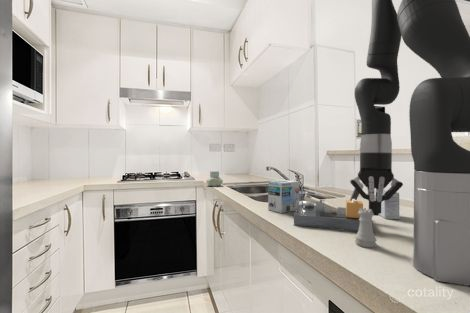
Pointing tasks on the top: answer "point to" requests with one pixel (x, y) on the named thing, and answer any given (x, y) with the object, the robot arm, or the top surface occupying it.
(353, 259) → the top surface
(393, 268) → the top surface
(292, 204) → the light bulb box
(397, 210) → the medicine box
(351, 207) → the slider knob
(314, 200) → the rocker paddle
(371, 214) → the rook chess piece
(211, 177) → the air freshener
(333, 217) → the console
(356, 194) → the lever
